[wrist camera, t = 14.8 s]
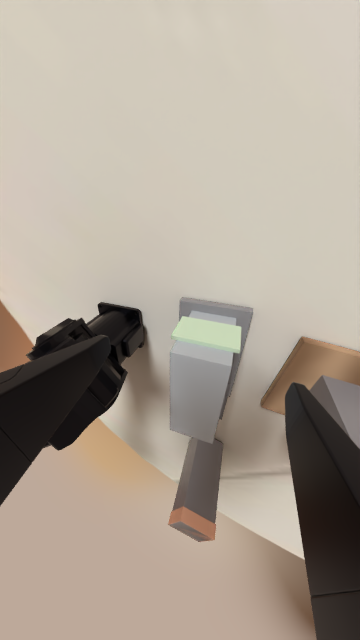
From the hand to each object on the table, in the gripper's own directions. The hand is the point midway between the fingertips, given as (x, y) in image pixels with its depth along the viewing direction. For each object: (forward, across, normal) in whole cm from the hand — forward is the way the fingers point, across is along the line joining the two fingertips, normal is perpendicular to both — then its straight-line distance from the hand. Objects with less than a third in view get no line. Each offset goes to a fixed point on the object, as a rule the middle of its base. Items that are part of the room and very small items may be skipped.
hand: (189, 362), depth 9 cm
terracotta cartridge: (+13, -2, +34) cm, 36 cm away
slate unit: (+13, 0, +10) cm, 16 cm away
